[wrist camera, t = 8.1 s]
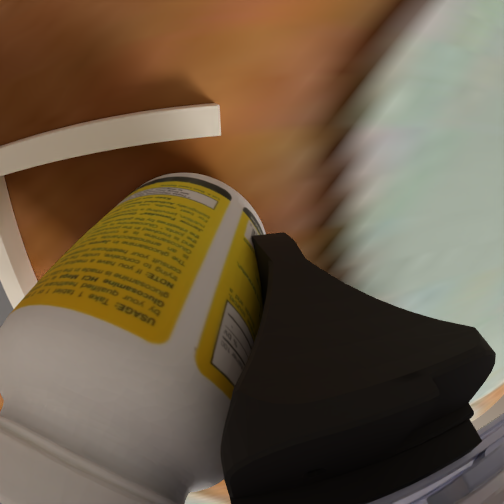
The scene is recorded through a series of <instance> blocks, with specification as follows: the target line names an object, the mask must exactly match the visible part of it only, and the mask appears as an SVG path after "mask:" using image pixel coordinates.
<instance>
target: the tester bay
mask: <svg viewBox="0 0 504 504" xmlns="http://www.w3.org/2000/svg"><path fill="white" fill-rule="evenodd" d="M209 136H221V125H220V106H219V105H218V104H216V103H210V104H199V105H189V106H179V107H171V108H163V109H156V110H149V111H142V112H136V113H130V114H124V115H119V116H113V117H108V118H103V119H98V120H93V121H89V122H84V123H80V124H75V125H71V126H67V127H63V128H59V129H55V130H52V131H48V132H44V133H41V134H37V135H34V136H30V137H27V138H24V139H21V140H17V141H14V142H11V143H8V144H5V145H2V146H0V328H1V326H2V325H3V323H4V322H5V320H6V318H7V317H8V316H9V314H10V313H11V312H12V311H13V310H14V309H15V307H16V306H17V305H18V304H19V303H20V301H21V300H22V299H23V298H24V297H25V296H26V295H27V293H28V292H29V291H30V290H31V289H32V288H33V287H34V286H35V284H36V283H37V279H36V277H35V274H34V272H33V269H32V266H31V264H30V261H29V258H28V256H27V253H26V250H25V247H24V244H23V241H22V238H21V235H20V232H19V229H18V226H17V222H16V219H15V216H14V212H13V209H12V205H11V202H10V198H9V194H8V190H7V186H6V182H5V178H4V175H6V174H10V173H13V172H17V171H20V170H24V169H28V168H31V167H35V166H39V165H43V164H47V163H51V162H55V161H60V160H64V159H68V158H73V157H78V156H82V155H87V154H92V153H97V152H102V151H108V150H113V149H119V148H125V147H131V146H137V145H144V144H150V143H158V142H165V141H173V140H181V139H190V138H199V137H209Z"/></svg>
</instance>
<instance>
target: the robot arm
mask: <svg viewBox="0 0 504 504" xmlns="http://www.w3.org/2000/svg"><path fill="white" fill-rule="evenodd" d="M252 241H253V245H254V250H255V255H256V260H257V266H258V272H259V277H260V282H261V289H262V298H263V312H262V318H261V322H260V326H259V329H258V332H257V335H256V338H255V341H254V343H253V346H252V349H251V352H250V354H249V357H248V359H247V362H246V364H245V366H244V368H243V370H242V372H241V374H240V376H239V378H238V380H237V382H236V384H235V386H234V389H233V392H232V397H231V402H230V406H229V410H228V414H227V418H226V422H225V426H224V430H223V435H222V441H221V450H220V451H221V463H222V468H223V474H224V480H225V483H226V486H227V489H228V493H229V496H230V500H231V504H504V413H503V414H501V415H500V416H499V417H497V418H496V419H494V420H493V421H491V422H490V423H488V424H487V425H485V426H484V427H482V428H480V429H479V430H477V431H476V429H475V428H474V426H473V425H472V423H471V421H470V420H469V419H470V418H471V417H472V416H473V415H474V411H473V409H472V408H471V406H470V405H469V401H470V400H471V399H472V398H473V396H474V395H475V394H476V392H477V391H478V390H479V389H480V387H481V386H482V385H483V383H484V382H485V380H486V379H487V378H488V376H489V374H490V373H491V371H492V369H493V367H494V364H495V355H496V353H495V352H494V351H493V350H492V348H491V347H490V346H489V344H488V343H487V342H486V341H485V339H484V338H483V337H482V336H481V334H480V333H479V332H478V331H477V330H476V328H474V327H470V326H465V325H460V324H456V323H451V322H446V321H441V320H437V319H433V318H430V317H427V316H423V315H420V314H417V313H413V312H410V311H407V310H404V309H401V308H399V307H396V306H393V305H391V304H388V303H386V302H383V301H381V300H378V299H376V298H374V297H372V296H369V295H367V294H365V293H363V292H361V291H359V290H357V289H355V288H353V287H351V286H349V285H347V284H345V283H343V282H342V281H340V280H338V279H336V278H335V277H333V276H331V275H330V274H328V273H327V272H325V271H323V270H322V269H320V268H319V267H317V266H316V265H314V264H313V263H311V262H310V261H308V260H307V259H305V257H304V256H303V254H302V252H301V251H300V249H299V247H298V246H297V244H296V243H295V241H294V240H293V239H292V238H291V237H290V236H288V235H287V234H285V233H275V234H264V235H254V236H252ZM0 504H1V503H0Z"/></svg>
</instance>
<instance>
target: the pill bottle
mask: <svg viewBox="0 0 504 504" xmlns="http://www.w3.org/2000/svg"><path fill="white" fill-rule="evenodd" d="M264 234H266V233H265V230H264V227H263V224H262V222H261V220H260V218H259V217H258V215H257V213H256V212H255V210H254V209H253V207H252V206H251V205H250V204H249V202H248V201H247V200H246V199H245V198H244V197H243V196H242V195H240V194H239V193H238V192H237V191H236V190H234V189H233V188H231V187H230V186H228V185H226V184H225V183H223V182H221V181H219V180H217V179H214V178H211V177H209V176H206V175H202V174H197V173H171V174H166V175H162V176H159V177H156V178H154V179H152V180H150V181H148V182H146V183H144V184H143V185H141V186H140V187H138V188H137V189H136V190H134V191H133V192H132V193H130V194H129V195H128V196H127V197H126V198H125V199H124V200H122V201H121V202H120V203H119V204H118V205H117V206H116V207H114V208H113V209H112V210H111V211H110V212H109V213H108V214H106V215H105V216H104V217H103V218H102V219H101V220H100V221H99V222H98V223H97V224H96V225H94V226H93V227H92V228H91V229H90V230H88V231H87V232H86V233H85V234H84V235H83V236H82V237H81V238H80V239H79V240H78V241H77V242H76V243H75V244H74V245H73V246H72V247H71V248H70V249H69V250H68V251H67V252H66V253H65V254H64V255H63V256H62V257H61V258H60V259H59V260H58V261H57V262H56V263H55V264H54V265H53V266H52V267H51V268H50V269H49V270H48V271H47V272H46V274H45V275H44V276H43V277H42V278H41V279H40V280H39V281H38V282H37V283H36V284H35V286H34V287H33V288H32V289H31V290H30V291H29V292H28V293H27V295H26V296H25V297H24V298H23V299H22V300H21V301H20V303H19V304H18V305H17V306H16V307H15V309H14V310H13V311H12V312H11V313H10V314H9V316H8V317H7V318H6V320H5V322H4V323H3V325H2V326H1V328H0V393H1V395H2V397H3V399H4V404H3V407H2V410H1V412H0V503H1V504H184V503H185V500H186V497H187V495H188V493H190V492H195V491H200V490H203V489H207V488H209V487H212V486H214V485H216V484H217V483H219V482H221V481H222V480H223V479H224V474H223V468H222V463H221V451H220V450H221V441H222V435H223V430H224V426H225V422H226V418H227V414H228V410H229V406H230V402H231V397H232V392H233V389H234V386H235V384H236V382H237V380H238V378H239V376H240V374H241V372H242V370H243V368H244V366H245V364H246V362H247V359H248V357H249V354H250V352H251V349H252V346H253V343H254V341H255V338H256V335H257V332H258V329H259V326H260V322H261V318H262V312H263V298H262V289H261V282H260V277H259V272H258V266H257V260H256V255H255V250H254V245H253V241H252V236H254V235H264Z"/></svg>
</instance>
